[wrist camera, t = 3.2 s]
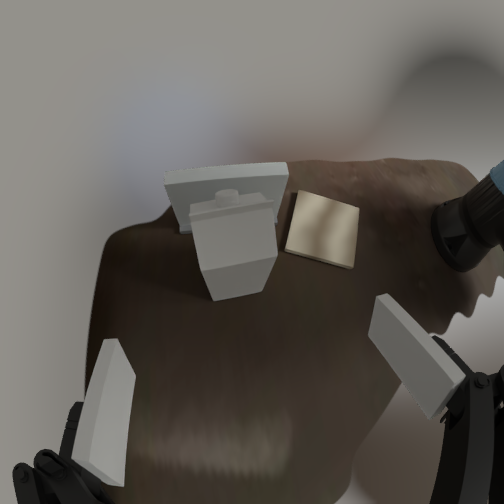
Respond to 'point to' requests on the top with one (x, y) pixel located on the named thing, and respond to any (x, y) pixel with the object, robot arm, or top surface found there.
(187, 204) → the grey screen
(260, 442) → the top surface
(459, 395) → the robot arm
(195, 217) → the milk carton
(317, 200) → the birch board
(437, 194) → the top surface
